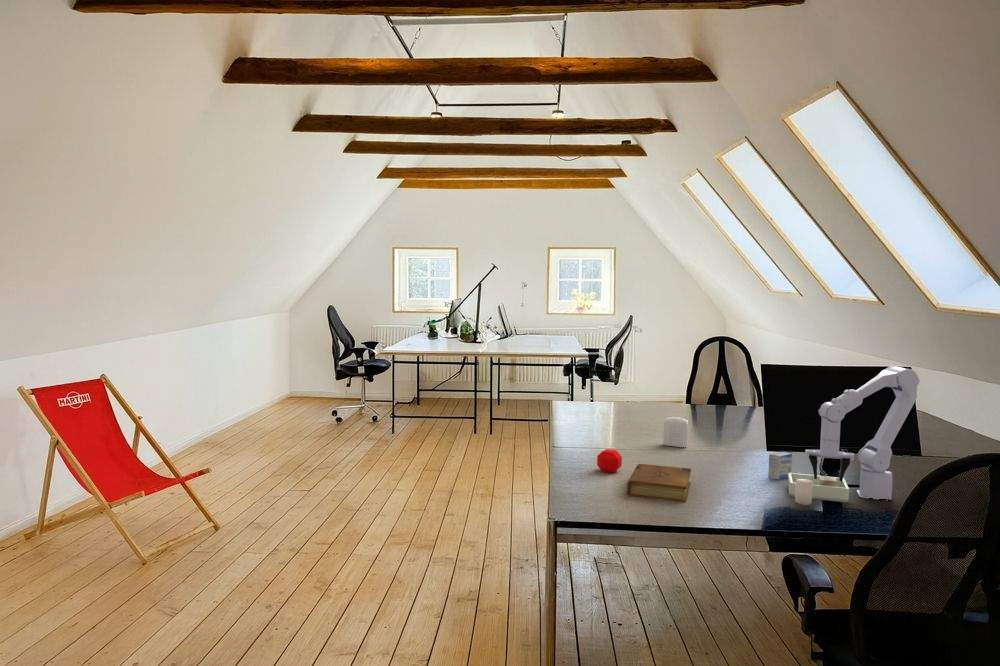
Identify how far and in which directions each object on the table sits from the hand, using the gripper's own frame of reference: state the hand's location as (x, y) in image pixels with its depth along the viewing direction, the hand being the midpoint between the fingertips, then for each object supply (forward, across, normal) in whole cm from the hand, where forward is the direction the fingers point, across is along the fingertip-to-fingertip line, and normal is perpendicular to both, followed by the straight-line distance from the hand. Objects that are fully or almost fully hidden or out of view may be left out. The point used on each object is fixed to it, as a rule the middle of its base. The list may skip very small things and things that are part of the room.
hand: (828, 479), depth 244 cm
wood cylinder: (+5, -8, -11) cm, 15 cm away
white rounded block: (+6, -54, +53) cm, 76 cm away
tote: (+5, -3, +1) cm, 6 cm away
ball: (+5, -73, +2) cm, 73 cm away
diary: (+6, -53, -14) cm, 55 cm away
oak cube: (+5, 0, 0) cm, 5 cm away
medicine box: (+6, -14, +18) cm, 24 cm away
